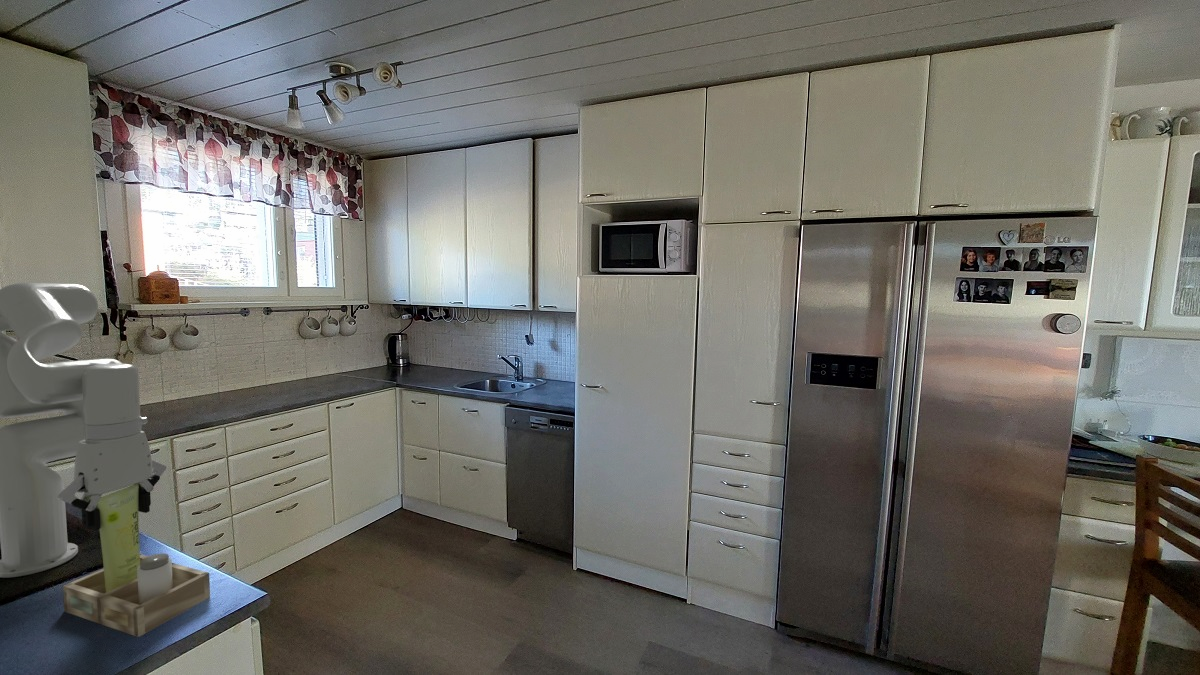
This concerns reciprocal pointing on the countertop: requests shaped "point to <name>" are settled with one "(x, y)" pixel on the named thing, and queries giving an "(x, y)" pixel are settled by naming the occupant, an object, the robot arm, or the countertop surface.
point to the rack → (135, 600)
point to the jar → (154, 577)
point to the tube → (120, 536)
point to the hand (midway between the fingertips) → (118, 519)
